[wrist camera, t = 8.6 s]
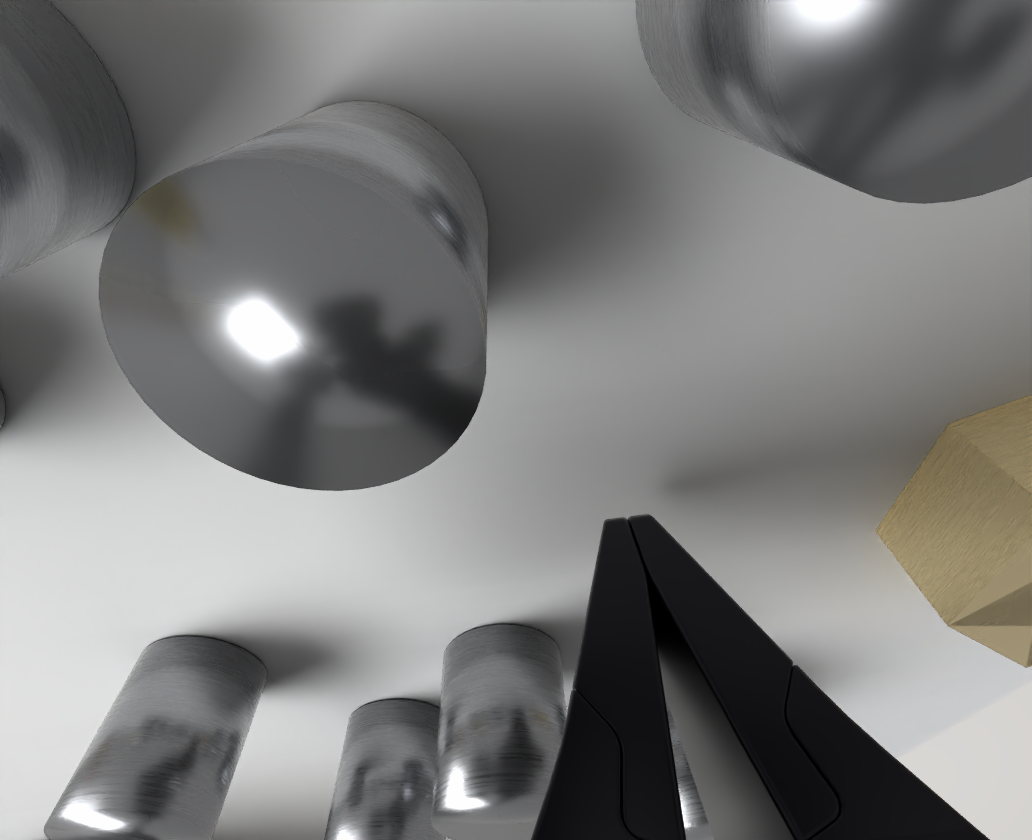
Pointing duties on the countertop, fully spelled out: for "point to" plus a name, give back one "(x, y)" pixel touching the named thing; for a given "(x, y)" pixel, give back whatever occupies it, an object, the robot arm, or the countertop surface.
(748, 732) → the robot arm
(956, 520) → the wooden star-faceted hexagon
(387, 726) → the spacers
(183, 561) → the countertop surface
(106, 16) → the countertop surface
